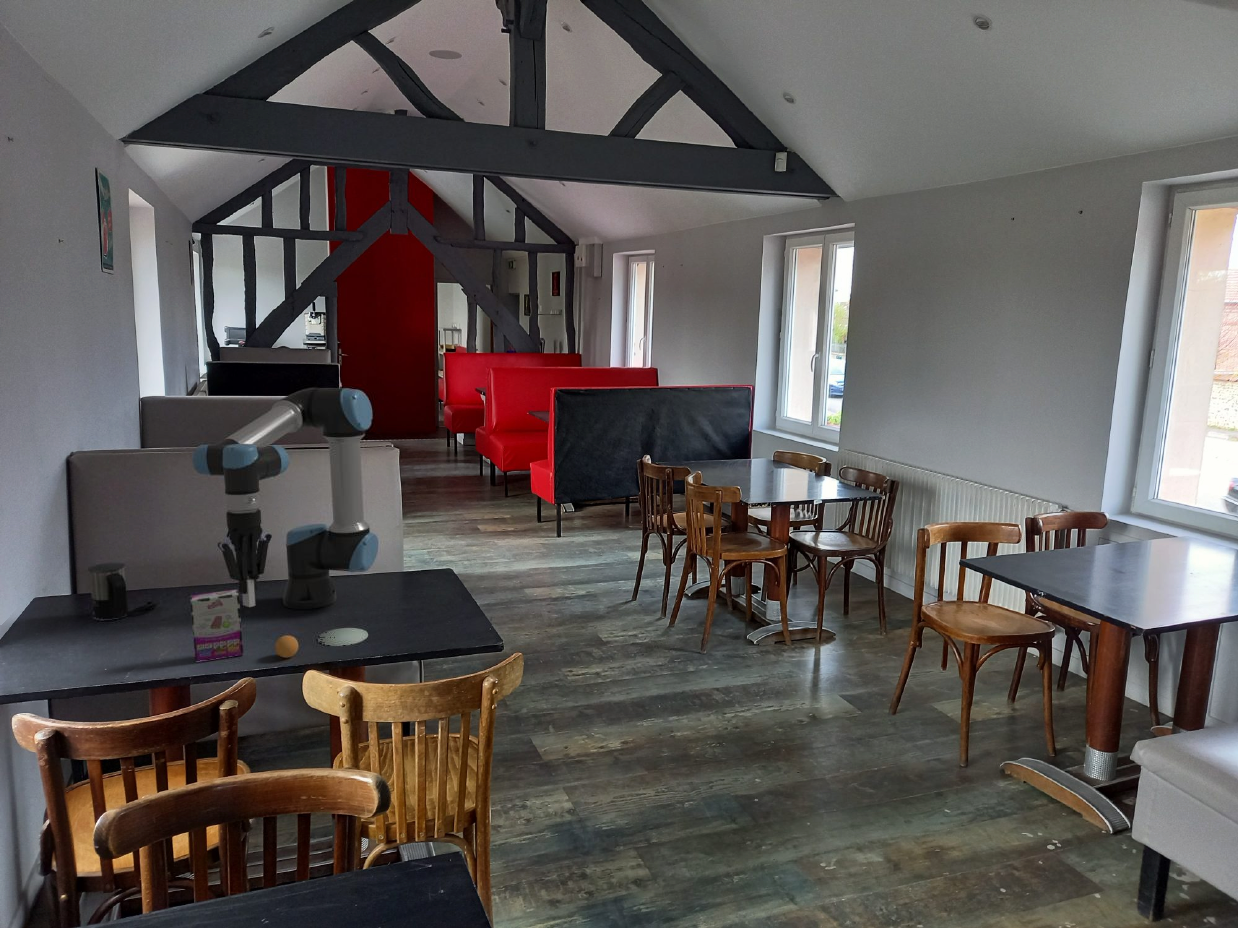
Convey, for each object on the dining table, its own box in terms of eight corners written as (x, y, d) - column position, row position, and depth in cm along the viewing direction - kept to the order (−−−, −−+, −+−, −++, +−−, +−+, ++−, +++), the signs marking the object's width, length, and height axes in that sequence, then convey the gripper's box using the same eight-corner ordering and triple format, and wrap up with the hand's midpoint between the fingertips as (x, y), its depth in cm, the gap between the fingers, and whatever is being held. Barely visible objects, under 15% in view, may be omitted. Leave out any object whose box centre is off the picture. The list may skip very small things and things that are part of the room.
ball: (271, 657, 220) (269, 636, 219) (290, 650, 224) (289, 630, 223) (284, 662, 217) (283, 641, 216) (303, 655, 221) (302, 635, 220)
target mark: (307, 638, 233) (307, 638, 233) (347, 625, 243) (347, 624, 243) (338, 649, 225) (338, 649, 225) (378, 635, 236) (378, 634, 236)
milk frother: (84, 619, 245) (79, 568, 243) (134, 602, 260) (130, 554, 257) (120, 626, 240) (115, 574, 238) (169, 609, 255) (165, 560, 252)
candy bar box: (242, 649, 225) (238, 588, 222) (243, 656, 221) (239, 594, 218) (194, 656, 220) (189, 594, 217) (194, 663, 216) (190, 600, 213)
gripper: (226, 516, 199) (232, 615, 203) (277, 507, 209) (282, 601, 213) (208, 512, 203) (214, 609, 207) (259, 503, 214) (264, 595, 217)
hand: (249, 605), depth 210 cm, fingers closed
